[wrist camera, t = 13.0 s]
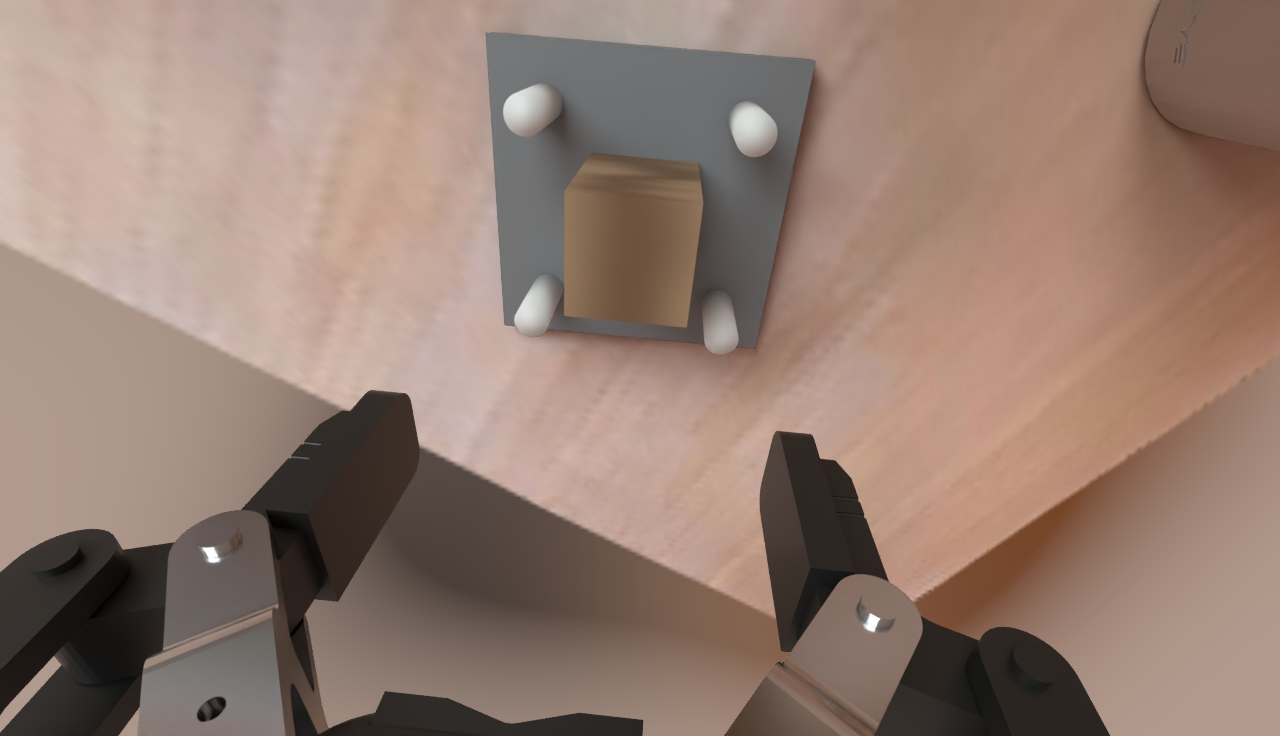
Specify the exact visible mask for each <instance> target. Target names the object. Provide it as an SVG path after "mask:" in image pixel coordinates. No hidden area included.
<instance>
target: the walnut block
mask: <svg viewBox="0 0 1280 736" xmlns="http://www.w3.org/2000/svg"><path fill="white" fill-rule="evenodd" d="M702 211H703V197H702V188H701V180H700V172H699V164H698V163H697V162H687V161H676V160H665V159H654V158H643V157H632V156H621V155H611V154H600V153H591V154H590V155H589V157H588V158H587V160H586V161H585V162H584V164H583V165H582V167H581V168H580V170H579V171H578V172H577V174H576V175H575V177H574V178H573V180H572V181H571V182H570V184H569V185H568V187H567V188H566V190H565V191H564V316H571V317H581V318H592V319H602V320H612V321H623V322H633V323H644V324H654V325H664V326H675V327H685V328H687V322H688V315H689V307H690V300H691V292H692V285H693V278H694V270H695V263H696V255H697V248H698V240H699V233H700V226H701V218H702Z"/></svg>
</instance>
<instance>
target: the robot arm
mask: <svg viewBox="0 0 1280 736" xmlns="http://www.w3.org/2000/svg"><path fill="white" fill-rule="evenodd" d="M1145 80H1146V84H1147V87H1148V90H1149V94H1150V97H1151V100H1152V102H1153V103H1154V105H1155V106H1156V107H1157V109H1158V110H1159V112H1160V113H1161V115H1162V116H1163V117H1164V118H1166V119H1167V120H1169V121H1170V122H1171V123H1173V124H1174V125H1175V126H1177V127H1179V128H1182V129H1184V130H1187V131H1190V132H1193V133H1196V134H1201V135H1205V136H1210V137H1215V138H1219V139H1224V140H1229V141H1233V142H1238V143H1243V144H1247V145H1252V146H1257V147H1262V148H1266V149H1270V150H1273V151H1278V152H1280V0H1162V1H1161V3H1160V6H1159V8H1158V11H1157V14H1156V16H1155V19H1154V21H1153V24H1152V27H1151V29H1150V32H1149V38H1148V43H1147V48H1146V54H1145ZM419 453H420V452H419V443H418V437H417V432H416V427H415V421H414V416H413V410H412V405H411V400H410V398H409V396H408V395H407V394H405V393H396V392H386V391H376V390H370V391H368V392H367V393H366V394H365V395H364V396H363V397H362V398H361V399H360V400H359V402H358V403H357V404H356V405H355V406H354V407H353V409H352V410H351V411H341V412H339V413H338V414H336V415H334V416H333V417H331V418H329V419H328V420H326V421H324V422H323V423H321V424H319V426H318V427H317V428H316V429H315V430H314V431H313V432H312V433H311V434H310V435H309V436H308V438H307V439H306V440H305V441H304V445H302V444H301V445H300V446H299V447H298V448H297V450H296V451H295V452H294V453H293V454H292V457H291V459H289V458H288V459H287V460H286V461H285V463H284V464H283V465H282V466H281V467H280V468H279V469H278V470H277V471H276V472H275V473H274V475H273V476H272V477H271V478H270V479H269V480H268V481H267V482H266V483H265V484H264V485H263V487H262V488H261V489H260V490H259V491H258V492H257V493H256V494H255V495H254V496H253V497H252V499H251V500H250V501H249V502H248V503H247V504H246V505H245V506H244V507H243V508H242V509H241V510H235V511H229V512H224V513H220V514H217V515H215V516H212V517H209V518H207V519H205V520H203V521H201V522H199V523H197V524H196V525H194V526H192V527H191V528H190V529H188V530H187V531H186V532H184V533H183V534H182V535H181V536H180V537H179V538H178V539H177V540H176V542H174V543H167V544H161V545H153V546H147V547H140V548H133V549H126V550H123V549H122V548H121V546H120V544H119V543H118V541H117V540H116V538H115V537H114V535H113V534H111V533H110V532H108V531H105V530H100V529H85V530H78V531H74V532H69V533H66V534H63V535H60V536H57V537H54V538H52V539H49V540H47V541H45V542H43V543H40V544H39V545H37V546H35V547H33V548H31V549H30V550H28V551H27V552H25V553H24V554H22V555H21V556H19V557H18V558H17V559H16V560H14V561H13V562H12V563H11V564H10V565H8V566H7V567H6V568H5V569H4V570H2V571H1V572H0V715H1V713H2V712H3V711H4V709H5V708H6V707H7V706H8V704H9V703H10V702H11V701H12V700H13V699H14V698H15V697H16V695H18V694H19V693H20V691H21V690H22V689H23V688H24V687H25V686H26V685H27V684H28V683H29V682H30V681H31V680H32V679H33V677H34V676H35V675H36V674H37V673H38V672H39V671H40V670H41V669H42V668H43V667H44V666H45V665H46V664H47V663H48V661H49V660H50V659H51V658H52V657H53V656H55V657H56V659H57V660H58V661H59V662H60V664H61V665H62V666H60V668H59V669H58V670H57V671H56V672H55V673H54V674H53V675H52V676H51V678H49V680H48V681H47V682H46V683H45V684H44V685H43V686H42V687H41V689H40V690H39V691H38V692H37V693H36V694H35V695H34V696H33V697H32V698H31V699H30V701H29V702H28V703H27V704H26V705H25V706H24V707H23V708H22V709H21V710H20V712H19V713H18V714H17V715H16V716H15V717H14V718H13V719H12V720H11V721H10V723H9V724H8V725H7V726H6V727H5V728H4V729H3V730H2V731H1V732H0V736H118V735H119V734H120V733H121V731H122V730H123V729H124V727H125V726H126V725H127V723H128V722H129V720H130V719H131V718H132V717H133V715H134V714H135V712H136V711H137V710H138V708H139V707H140V709H139V722H138V734H137V736H642V732H643V720H637V719H630V718H621V717H611V716H603V715H593V714H585V713H576V714H570V715H564V716H558V717H552V718H546V719H540V720H534V721H527V722H521V723H514V724H510V723H504V722H502V721H499V720H497V719H494V718H492V717H490V716H488V715H485V714H483V713H481V712H478V711H476V710H474V709H471V708H469V707H467V706H464V705H462V704H460V703H458V702H455V701H453V700H451V699H448V698H441V697H431V696H423V695H414V694H404V693H396V692H387V691H385V693H384V695H383V697H382V699H381V702H380V704H379V706H378V708H377V710H376V712H375V713H372V714H368V715H364V716H361V717H357V718H354V719H350V720H348V721H345V722H343V723H341V724H339V725H336V726H333V727H332V728H328V725H327V721H326V718H325V715H324V711H323V707H322V702H321V697H320V691H319V685H318V679H317V673H316V667H315V661H314V655H313V649H312V644H311V638H310V632H309V626H308V621H307V618H306V615H305V613H306V611H307V610H308V608H309V607H310V605H311V603H312V602H313V600H314V599H318V600H328V601H337V602H338V601H339V599H340V597H341V596H342V594H343V592H344V591H345V589H346V587H347V586H348V584H349V582H350V581H351V579H352V577H353V576H354V574H355V573H356V571H357V569H358V567H359V566H360V564H361V563H362V561H363V559H364V557H365V556H366V554H367V553H368V551H369V549H370V548H371V546H372V544H373V543H374V541H375V539H376V538H377V536H378V534H379V533H380V531H381V529H382V528H383V526H384V525H385V523H386V521H387V520H388V518H389V516H390V515H391V513H392V511H393V510H394V508H395V506H396V505H397V503H398V501H399V500H400V498H401V496H402V495H403V493H404V491H405V490H406V488H407V486H408V485H409V483H410V481H411V480H412V478H413V476H414V475H415V472H416V470H417V466H418V462H419ZM760 514H761V521H762V528H763V534H764V541H765V547H766V554H767V561H768V567H769V574H770V580H771V587H772V594H773V600H774V607H775V613H776V620H777V626H778V633H779V639H780V646H781V651H784V652H790V654H789V655H788V657H787V658H786V659H785V661H784V662H783V663H781V662H778V663H776V664H775V665H774V667H773V668H772V669H771V670H770V671H769V673H768V674H767V675H766V677H765V678H764V680H763V681H762V683H761V684H760V686H759V687H758V688H757V690H756V691H755V693H754V694H753V696H752V697H751V698H750V700H749V701H748V703H747V704H746V706H745V707H744V708H743V710H742V711H741V713H740V714H739V715H738V717H737V718H736V720H735V721H734V723H733V724H732V725H731V727H730V728H729V730H728V731H727V733H726V734H725V735H724V736H1110V735H1109V733H1108V731H1107V729H1106V727H1105V726H1104V723H1103V722H1102V720H1101V718H1100V716H1099V714H1098V712H1097V711H1096V709H1095V707H1094V705H1093V703H1092V701H1091V700H1090V698H1089V696H1088V694H1087V692H1086V690H1085V688H1084V687H1083V685H1082V683H1081V681H1080V679H1079V678H1078V676H1077V674H1076V673H1075V671H1074V669H1073V668H1072V667H1071V666H1070V664H1069V663H1068V662H1067V661H1066V660H1065V659H1064V658H1063V657H1062V656H1061V655H1060V654H1059V653H1058V652H1057V651H1056V650H1055V649H1053V648H1052V647H1051V646H1050V645H1048V644H1047V643H1045V642H1044V641H1042V640H1041V639H1039V638H1037V637H1036V636H1034V635H1031V634H1029V633H1027V632H1024V631H1021V630H1019V629H1015V628H1010V627H996V628H993V629H990V630H988V631H987V632H985V633H984V635H983V636H982V637H981V639H980V640H976V639H973V638H971V637H968V636H966V635H963V634H960V633H958V632H955V631H952V630H950V629H947V628H944V627H942V626H939V625H937V624H935V623H933V622H930V621H928V620H927V619H925V618H923V617H921V616H920V614H919V612H918V610H917V608H916V606H915V605H914V603H913V602H912V601H911V599H910V598H909V597H908V596H907V595H906V594H905V593H904V592H903V591H901V590H900V589H899V588H898V587H896V586H895V585H893V584H892V583H890V582H889V580H888V578H887V575H886V573H885V570H884V567H883V564H882V562H881V559H880V556H879V553H878V551H877V548H876V545H875V542H874V540H873V537H872V534H871V531H870V529H869V526H868V523H867V520H866V518H864V512H863V509H862V507H861V504H860V502H858V496H857V493H856V490H855V487H854V485H853V482H852V479H851V478H850V476H849V475H848V474H847V473H846V472H845V471H844V470H843V469H842V467H841V466H840V465H839V464H838V463H837V462H836V461H835V460H825V459H820V457H819V454H818V450H817V447H816V444H815V441H814V438H813V436H812V435H811V434H803V433H793V432H783V431H776V432H775V434H774V436H773V439H772V443H771V447H770V451H769V455H768V459H767V463H766V467H765V471H764V475H763V479H762V483H761V490H760Z"/></svg>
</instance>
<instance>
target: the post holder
mask: <svg viewBox="0 0 1280 736" xmlns="http://www.w3.org/2000/svg"><path fill="white" fill-rule="evenodd" d="M486 46H487V62H488V77H489V93H490V109H491V124H492V140H493V155H494V171H495V186H496V202H497V217H498V233H499V249H500V264H501V280H502V295H503V311H504V325H507V326H516V328H517V329H518V330H519V331H520V332H521V333H522V334H524V335H526V336H529V337H538V336H540V335H542V334H544V333H545V331H546V330H547V329H550V330H561V331H571V332H582V333H593V334H603V335H614V336H625V337H635V338H646V339H657V340H667V341H678V342H689V343H699V344H705V346H706V348H707V349H708V350H709V351H710V352H712V353H714V354H718V355H723V354H727V353H730V352H731V351H733V350H734V349H735V348H736V347H742V348H753V349H755V348H756V343H757V338H758V333H759V329H760V324H761V319H762V314H763V310H764V305H765V300H766V295H767V291H768V286H769V281H770V276H771V271H772V267H773V262H774V257H775V252H776V248H777V243H778V238H779V233H780V228H781V224H782V219H783V214H784V209H785V205H786V200H787V195H788V190H789V186H790V181H791V176H792V171H793V166H794V162H795V157H796V152H797V147H798V143H799V138H800V133H801V128H802V123H803V119H804V114H805V109H806V104H807V100H808V95H809V90H810V85H811V81H812V76H813V71H814V66H815V61H814V60H810V59H799V58H787V57H776V56H764V55H752V54H740V53H729V52H717V51H705V50H694V49H682V48H670V47H658V46H647V45H635V44H623V43H612V42H600V41H588V40H576V39H565V38H553V37H541V36H530V35H518V34H506V33H495V32H492V33H486ZM591 153H600V154H611V155H621V156H632V157H643V158H654V159H665V160H676V161H687V162H697V163H698V164H699V172H700V180H701V188H702V197H703V211H702V218H701V226H700V233H699V240H698V248H697V255H696V263H695V270H694V278H693V285H692V292H691V300H690V307H689V315H688V322H687V328H685V327H675V326H664V325H654V324H644V323H633V322H623V321H612V320H602V319H592V318H581V317H571V316H564V191H565V190H566V188H567V187H568V185H569V184H570V182H571V181H572V180H573V178H574V177H575V175H576V174H577V172H578V171H579V170H580V168H581V167H582V165H583V164H584V162H585V161H586V160H587V158H588V157H589V155H590V154H591Z"/></svg>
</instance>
